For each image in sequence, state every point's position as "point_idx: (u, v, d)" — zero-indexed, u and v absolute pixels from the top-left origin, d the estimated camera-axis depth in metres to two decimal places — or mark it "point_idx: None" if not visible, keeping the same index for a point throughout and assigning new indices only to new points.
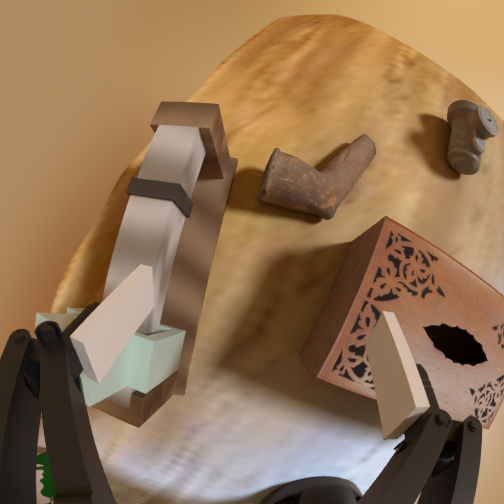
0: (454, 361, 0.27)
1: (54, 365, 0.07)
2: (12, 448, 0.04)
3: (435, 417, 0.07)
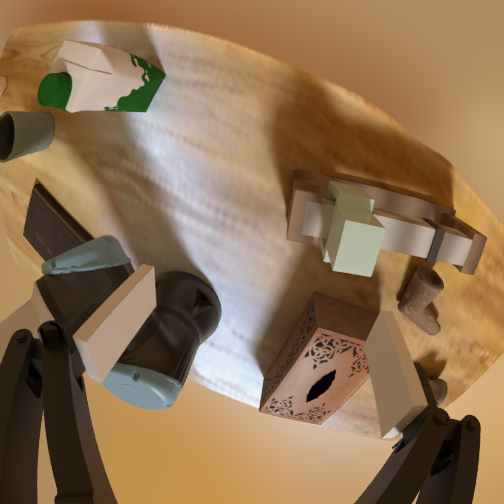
0: None
1: (56, 365, 0.07)
2: (13, 448, 0.04)
3: (433, 416, 0.07)
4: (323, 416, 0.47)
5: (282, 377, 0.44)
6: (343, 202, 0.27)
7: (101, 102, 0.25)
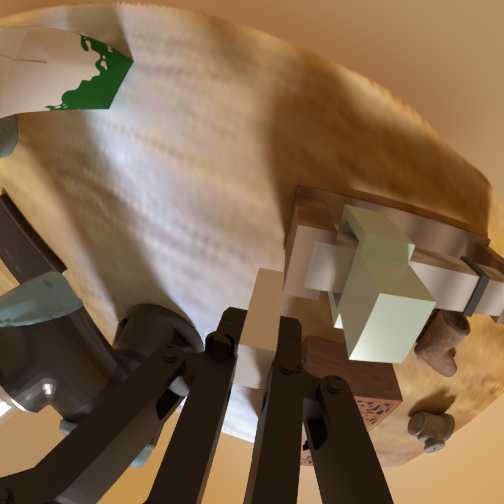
0: None
1: (214, 378, 0.09)
2: (102, 465, 0.05)
3: (279, 368, 0.09)
4: None
5: None
6: (370, 248, 0.17)
7: (38, 100, 0.15)
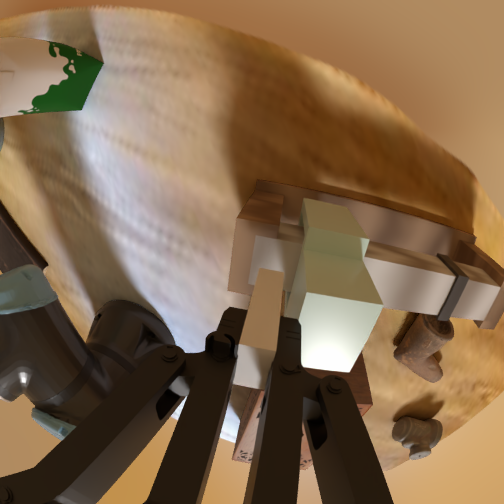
0: None
1: (214, 378, 0.09)
2: (102, 465, 0.05)
3: (279, 368, 0.09)
4: (305, 463, 0.37)
5: (242, 433, 0.34)
6: (315, 243, 0.16)
7: (9, 106, 0.14)
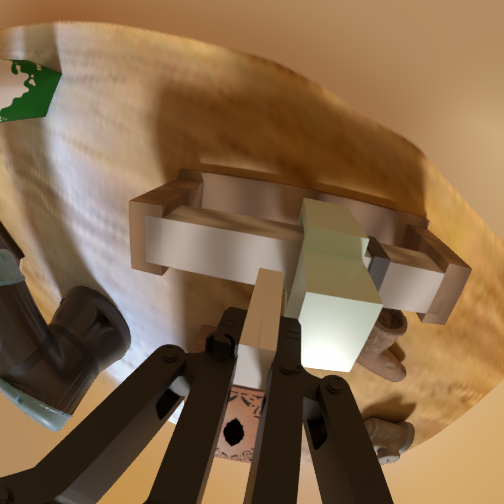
0: None
1: (214, 378, 0.09)
2: (102, 465, 0.05)
3: (279, 368, 0.09)
4: None
5: None
6: (315, 243, 0.16)
7: None
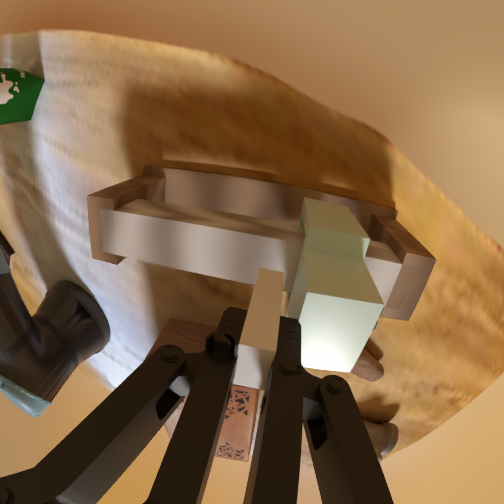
0: None
1: (214, 378, 0.09)
2: (102, 465, 0.05)
3: (279, 368, 0.09)
4: (241, 454, 0.37)
5: None
6: (316, 243, 0.16)
7: None
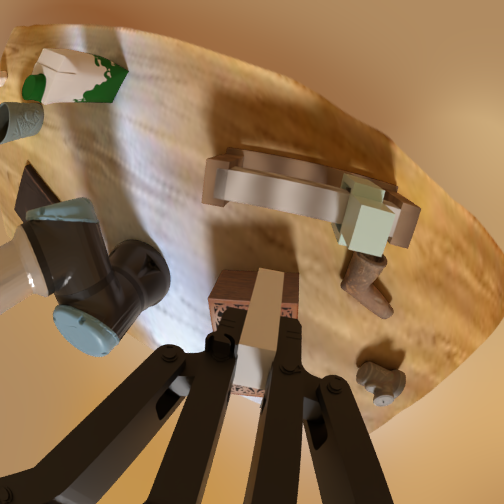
0: None
1: (214, 378, 0.09)
2: (102, 465, 0.05)
3: (279, 368, 0.09)
4: None
5: None
6: (358, 191, 0.29)
7: (69, 95, 0.29)
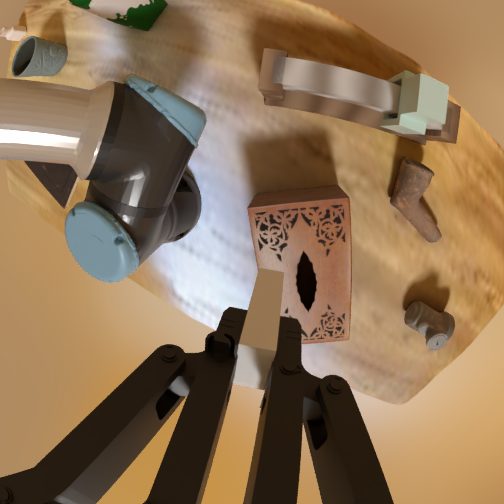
0: (306, 298, 0.54)
1: (214, 378, 0.09)
2: (102, 465, 0.05)
3: (279, 368, 0.09)
4: (342, 324, 0.44)
5: None
6: (409, 78, 0.24)
7: (116, 6, 0.23)
